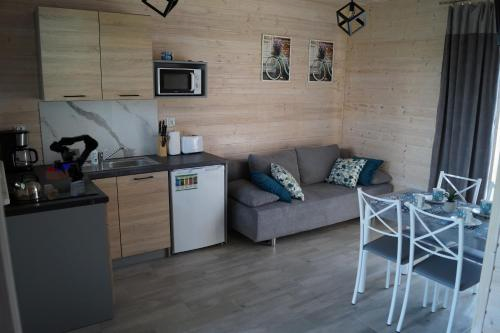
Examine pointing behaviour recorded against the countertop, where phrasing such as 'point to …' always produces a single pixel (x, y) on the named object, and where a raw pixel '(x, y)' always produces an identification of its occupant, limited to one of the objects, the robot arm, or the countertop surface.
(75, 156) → the candy bar box
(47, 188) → the dark grey cylinder
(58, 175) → the house
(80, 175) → the robot arm
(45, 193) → the terracotta block
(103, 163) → the countertop surface
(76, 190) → the medicine box
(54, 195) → the walnut block
